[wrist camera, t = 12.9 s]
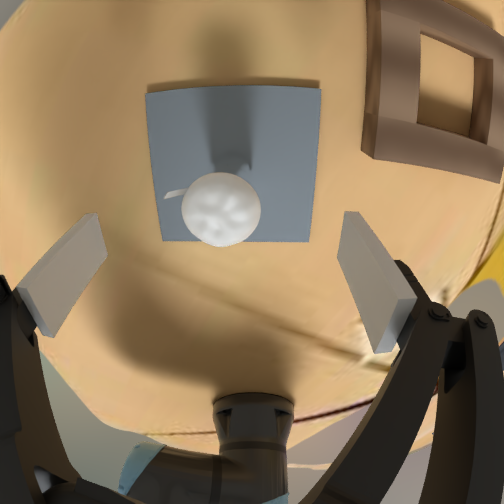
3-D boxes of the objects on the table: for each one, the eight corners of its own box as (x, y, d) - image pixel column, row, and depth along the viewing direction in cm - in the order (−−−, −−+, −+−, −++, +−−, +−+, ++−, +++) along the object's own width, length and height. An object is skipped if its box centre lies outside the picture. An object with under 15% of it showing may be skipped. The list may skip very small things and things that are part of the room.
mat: (307, 239, 27) (308, 242, 26) (164, 238, 27) (162, 241, 26) (319, 88, 19) (321, 88, 19) (147, 93, 19) (145, 93, 19)
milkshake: (216, 128, 21) (188, 158, 12) (270, 165, 22) (279, 219, 14) (186, 172, 23) (146, 228, 14) (238, 205, 24) (228, 277, 16)
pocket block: (483, 173, 22) (499, 183, 19) (360, 150, 22) (373, 159, 19) (494, 42, 13) (512, 42, 10) (364, -15, 13) (378, -25, 11)
